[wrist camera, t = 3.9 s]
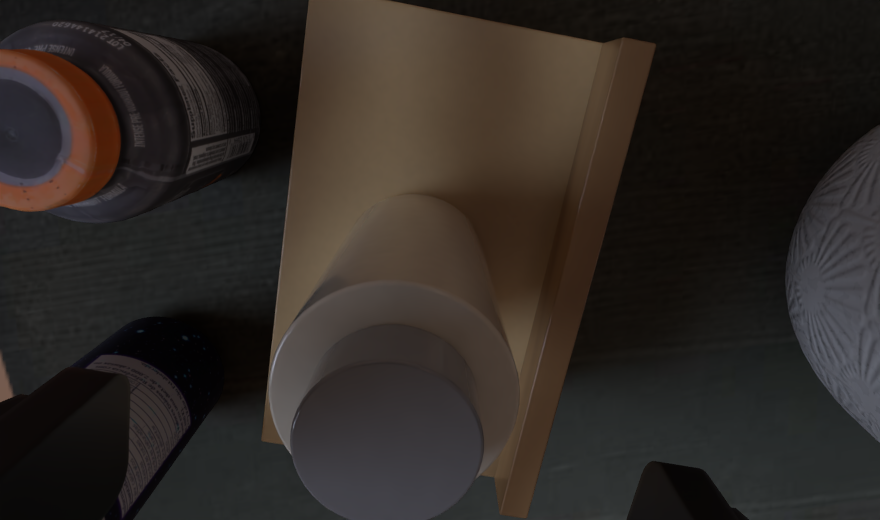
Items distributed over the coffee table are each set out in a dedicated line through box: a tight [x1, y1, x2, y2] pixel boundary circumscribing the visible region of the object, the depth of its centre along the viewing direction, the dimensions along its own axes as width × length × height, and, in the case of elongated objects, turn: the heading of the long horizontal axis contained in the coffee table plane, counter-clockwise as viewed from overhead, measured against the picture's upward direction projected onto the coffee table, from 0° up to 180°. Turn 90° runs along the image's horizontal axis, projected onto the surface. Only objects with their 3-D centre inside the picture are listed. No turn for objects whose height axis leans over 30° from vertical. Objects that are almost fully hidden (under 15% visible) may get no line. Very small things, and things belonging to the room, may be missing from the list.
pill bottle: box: [0, 20, 261, 223], centre depth 19 cm, size 6×6×11 cm
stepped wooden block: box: [261, 0, 656, 518], centre depth 22 cm, size 10×16×9 cm, turn 170°
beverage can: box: [70, 317, 224, 520], centre depth 22 cm, size 6×6×12 cm
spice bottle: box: [268, 194, 520, 520], centre depth 14 cm, size 5×5×10 cm
